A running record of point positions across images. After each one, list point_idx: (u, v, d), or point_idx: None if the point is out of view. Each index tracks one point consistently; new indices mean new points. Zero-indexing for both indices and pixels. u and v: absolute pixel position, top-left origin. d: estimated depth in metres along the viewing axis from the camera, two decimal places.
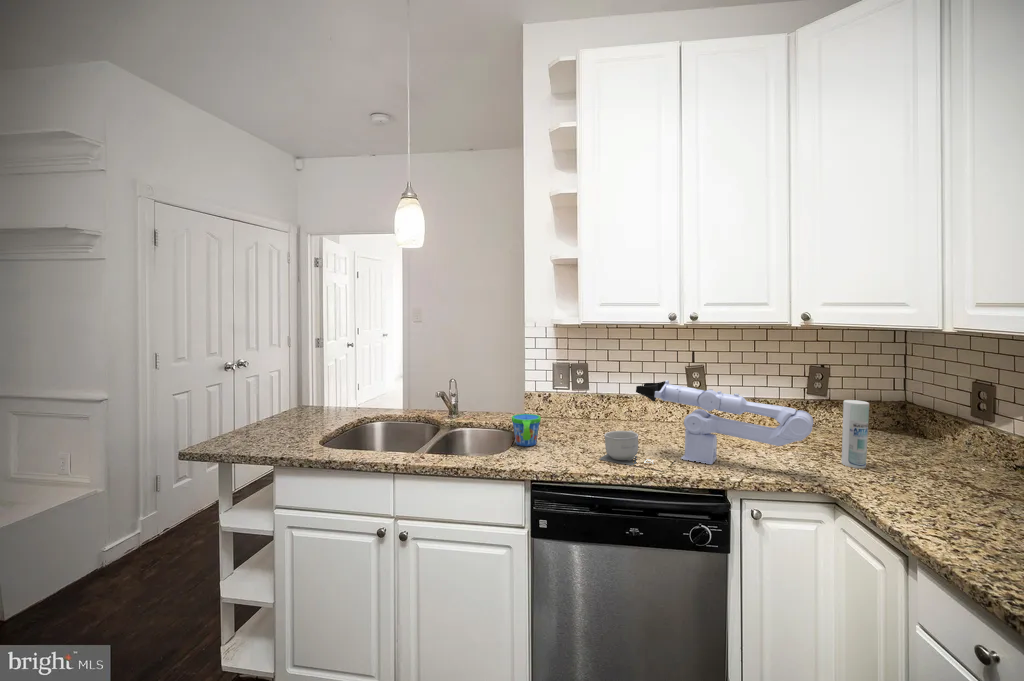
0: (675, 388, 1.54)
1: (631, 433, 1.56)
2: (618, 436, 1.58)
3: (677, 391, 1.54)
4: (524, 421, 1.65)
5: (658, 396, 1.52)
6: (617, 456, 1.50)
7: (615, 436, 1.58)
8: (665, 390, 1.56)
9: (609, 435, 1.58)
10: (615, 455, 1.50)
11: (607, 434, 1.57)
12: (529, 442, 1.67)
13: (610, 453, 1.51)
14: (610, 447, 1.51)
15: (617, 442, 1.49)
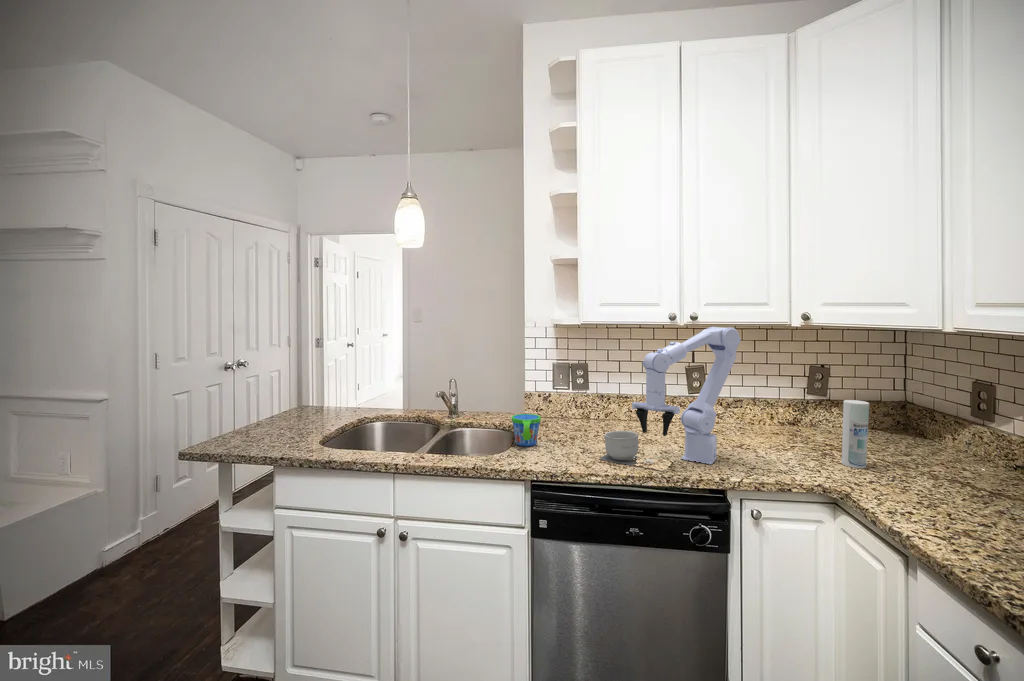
0: (659, 396, 1.45)
1: (631, 433, 1.56)
2: (618, 436, 1.58)
3: (662, 393, 1.46)
4: (524, 421, 1.65)
5: (679, 409, 1.45)
6: (617, 456, 1.50)
7: (615, 436, 1.58)
8: (662, 405, 1.46)
9: (609, 435, 1.58)
10: (615, 455, 1.50)
11: (607, 434, 1.57)
12: (529, 442, 1.67)
13: (610, 453, 1.51)
14: (610, 447, 1.51)
15: (617, 442, 1.49)
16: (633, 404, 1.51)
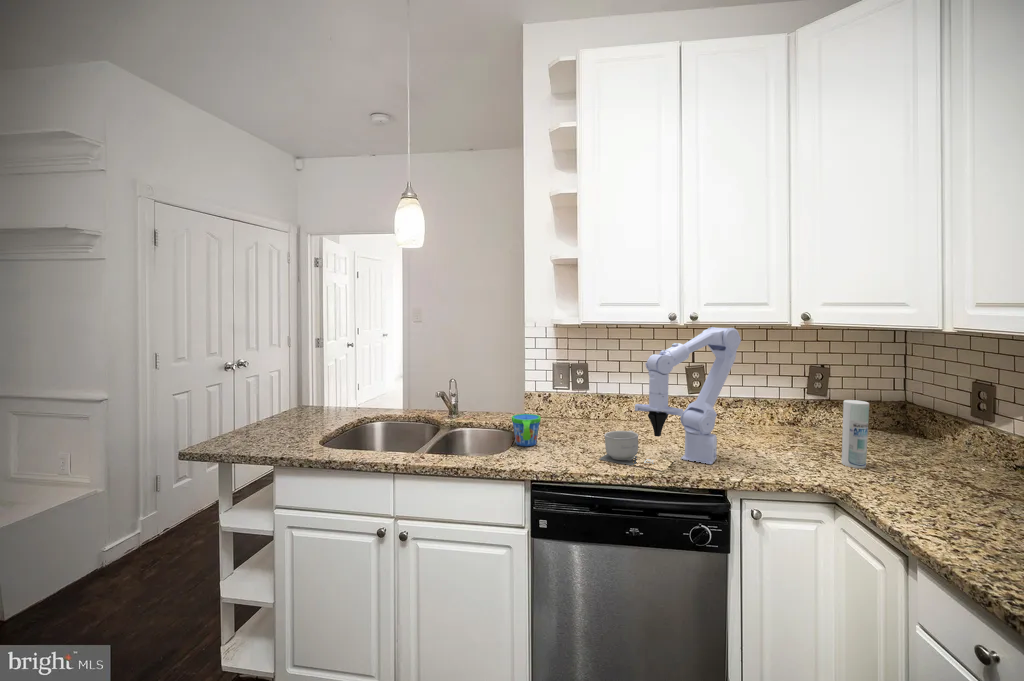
0: (662, 398, 1.45)
1: (631, 433, 1.56)
2: (618, 436, 1.58)
3: (665, 395, 1.45)
4: (524, 421, 1.65)
5: (682, 411, 1.44)
6: (617, 456, 1.50)
7: (615, 436, 1.58)
8: (666, 407, 1.45)
9: (609, 435, 1.58)
10: (615, 455, 1.50)
11: (607, 434, 1.57)
12: (529, 442, 1.67)
13: (610, 453, 1.51)
14: (610, 447, 1.51)
15: (617, 442, 1.49)
16: (636, 406, 1.51)
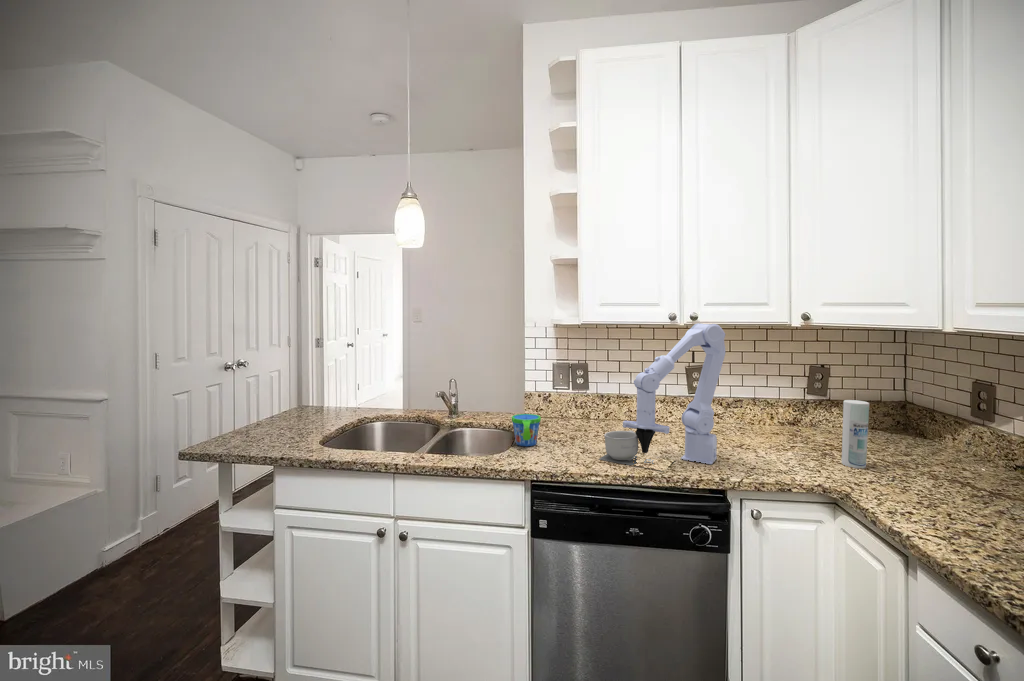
0: (649, 416, 1.47)
1: (631, 433, 1.56)
2: (618, 436, 1.59)
3: (652, 413, 1.48)
4: (524, 421, 1.65)
5: (669, 428, 1.47)
6: (617, 456, 1.50)
7: (615, 436, 1.58)
8: (653, 425, 1.48)
9: (609, 435, 1.58)
10: (615, 455, 1.50)
11: (607, 434, 1.57)
12: (529, 442, 1.67)
13: (610, 453, 1.51)
14: (610, 447, 1.51)
15: (617, 442, 1.49)
16: (624, 423, 1.53)
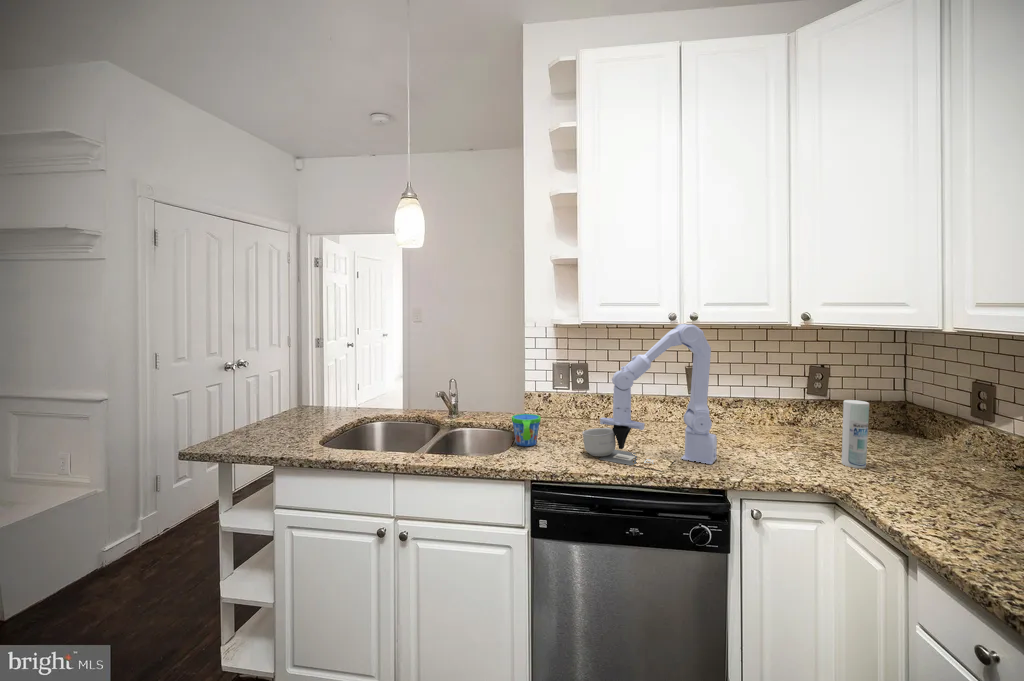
0: (625, 413, 1.52)
1: (608, 430, 1.61)
2: (596, 433, 1.63)
3: (627, 410, 1.52)
4: (524, 421, 1.65)
5: (643, 425, 1.51)
6: (596, 452, 1.54)
7: (593, 434, 1.63)
8: (628, 421, 1.52)
9: (587, 433, 1.62)
10: (594, 451, 1.54)
11: (585, 432, 1.61)
12: (529, 442, 1.67)
13: (589, 450, 1.55)
14: (588, 444, 1.55)
15: (595, 439, 1.53)
16: (601, 420, 1.58)
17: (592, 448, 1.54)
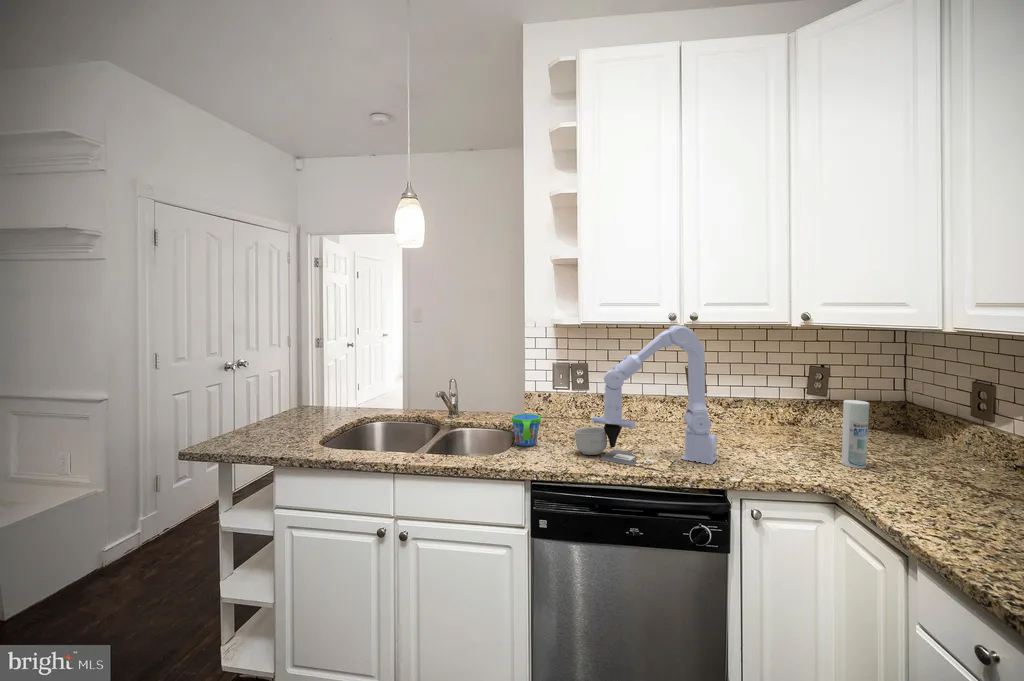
0: (616, 412, 1.54)
1: (600, 429, 1.62)
2: (588, 432, 1.64)
3: (618, 409, 1.54)
4: (524, 421, 1.65)
5: (634, 423, 1.53)
6: (587, 451, 1.55)
7: (585, 432, 1.64)
8: (619, 420, 1.54)
9: (579, 432, 1.63)
10: (585, 450, 1.55)
11: (577, 431, 1.62)
12: (529, 442, 1.67)
13: (580, 448, 1.57)
14: (580, 443, 1.56)
15: (586, 437, 1.55)
16: (593, 418, 1.59)
17: (584, 447, 1.55)
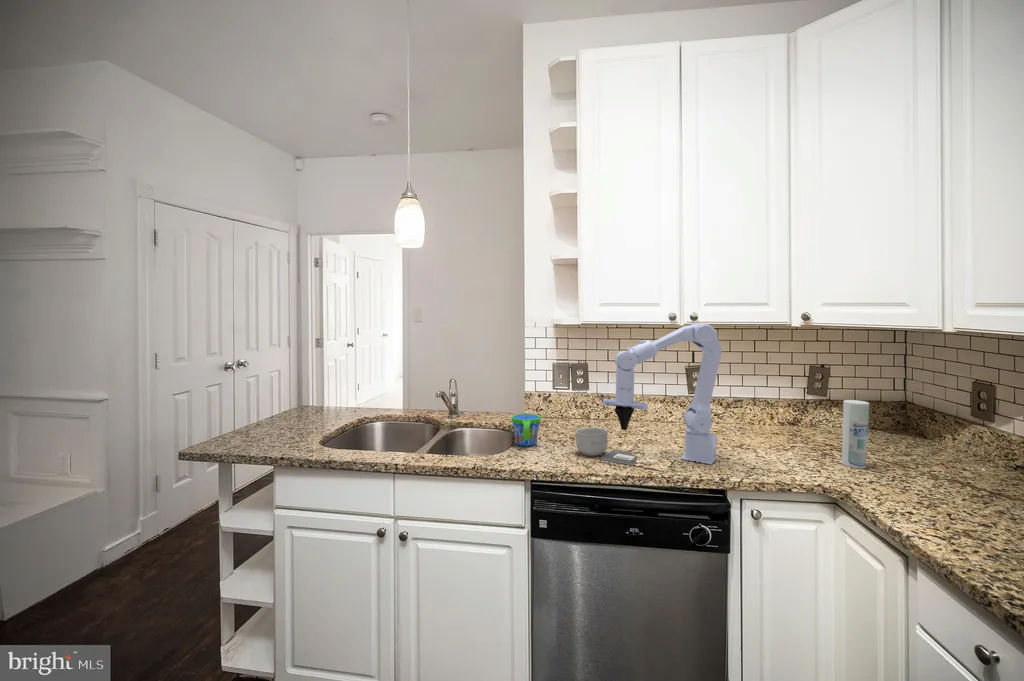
0: (628, 393, 1.51)
1: (601, 430, 1.62)
2: (588, 433, 1.64)
3: (630, 390, 1.51)
4: (524, 421, 1.65)
5: (647, 405, 1.50)
6: (587, 452, 1.55)
7: (585, 433, 1.64)
8: (631, 402, 1.52)
9: (580, 432, 1.63)
10: (585, 451, 1.55)
11: (578, 431, 1.62)
12: (529, 442, 1.67)
13: (581, 449, 1.57)
14: (581, 443, 1.56)
15: (587, 438, 1.55)
16: (604, 401, 1.57)
17: (584, 447, 1.55)
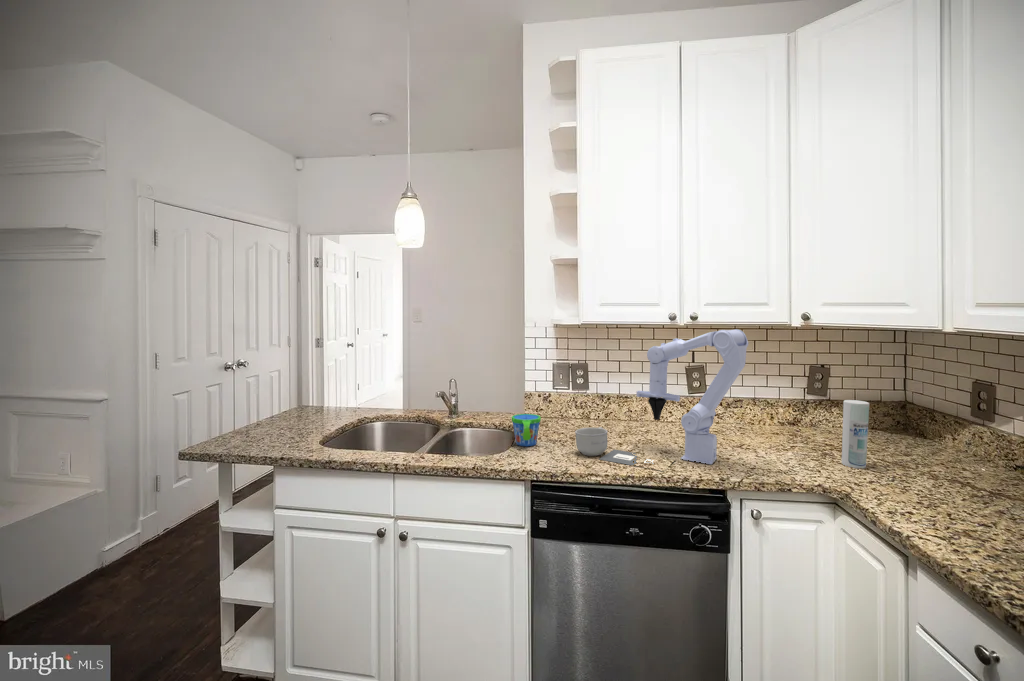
0: (661, 385, 1.61)
1: (601, 429, 1.62)
2: (588, 433, 1.64)
3: (664, 383, 1.61)
4: (524, 421, 1.65)
5: (679, 397, 1.60)
6: (587, 452, 1.55)
7: (585, 433, 1.64)
8: (664, 394, 1.61)
9: (580, 432, 1.63)
10: (585, 451, 1.55)
11: (578, 431, 1.62)
12: (529, 442, 1.67)
13: (581, 449, 1.57)
14: (581, 443, 1.56)
15: (587, 438, 1.55)
16: (638, 392, 1.67)
17: (584, 447, 1.55)
